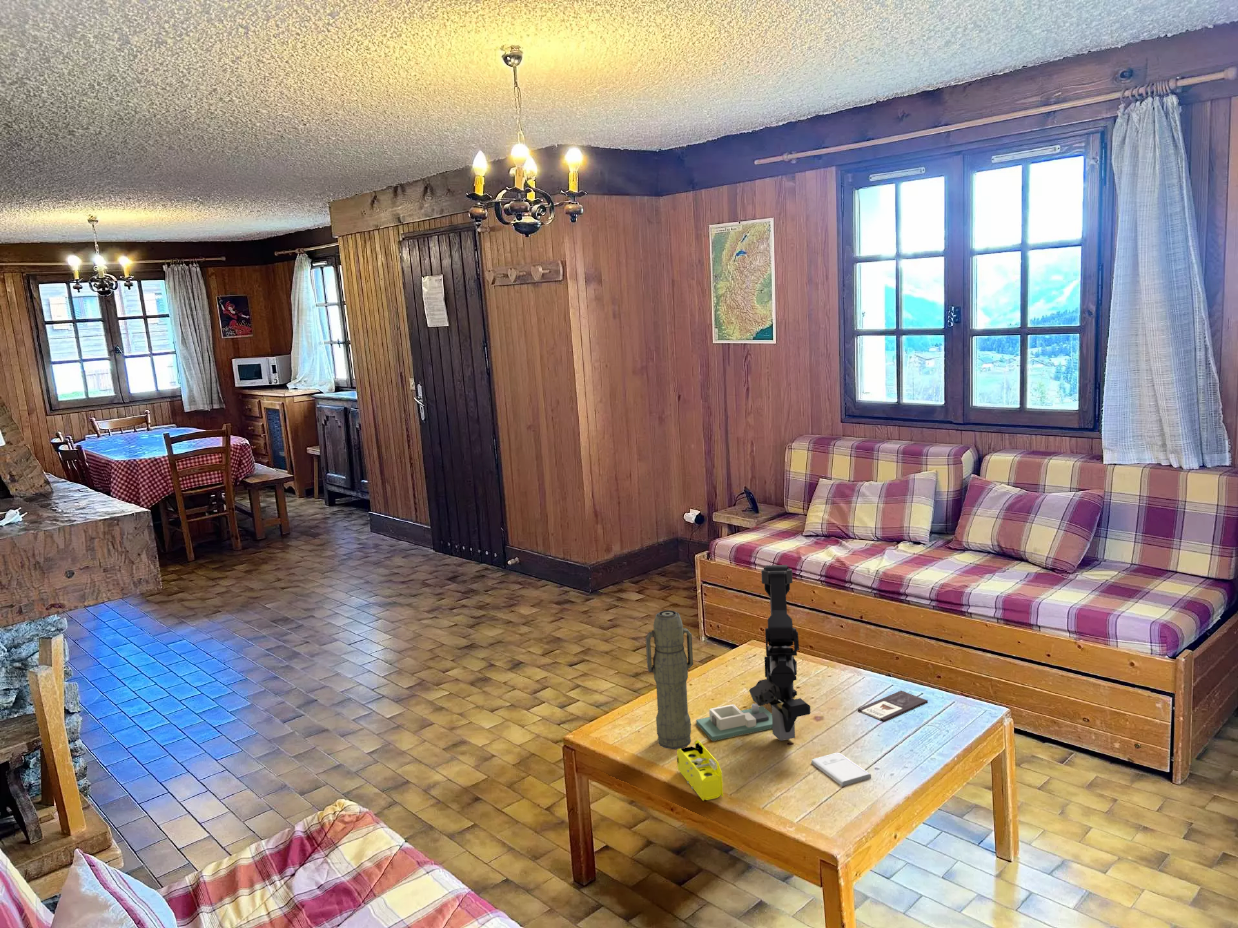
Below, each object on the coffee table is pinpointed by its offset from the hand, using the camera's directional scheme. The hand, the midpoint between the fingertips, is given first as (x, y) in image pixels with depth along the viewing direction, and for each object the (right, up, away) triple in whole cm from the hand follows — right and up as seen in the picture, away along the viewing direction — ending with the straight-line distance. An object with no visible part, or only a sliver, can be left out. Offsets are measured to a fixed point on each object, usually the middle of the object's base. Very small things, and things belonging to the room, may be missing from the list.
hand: (783, 728), depth 235 cm
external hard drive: (+11, -6, -16) cm, 20 cm away
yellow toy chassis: (-23, -8, -19) cm, 31 cm away
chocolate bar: (+33, +1, +16) cm, 37 cm away
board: (-10, -2, +10) cm, 15 cm away
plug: (0, -2, 0) cm, 2 cm away
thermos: (-28, -5, +3) cm, 28 cm away
